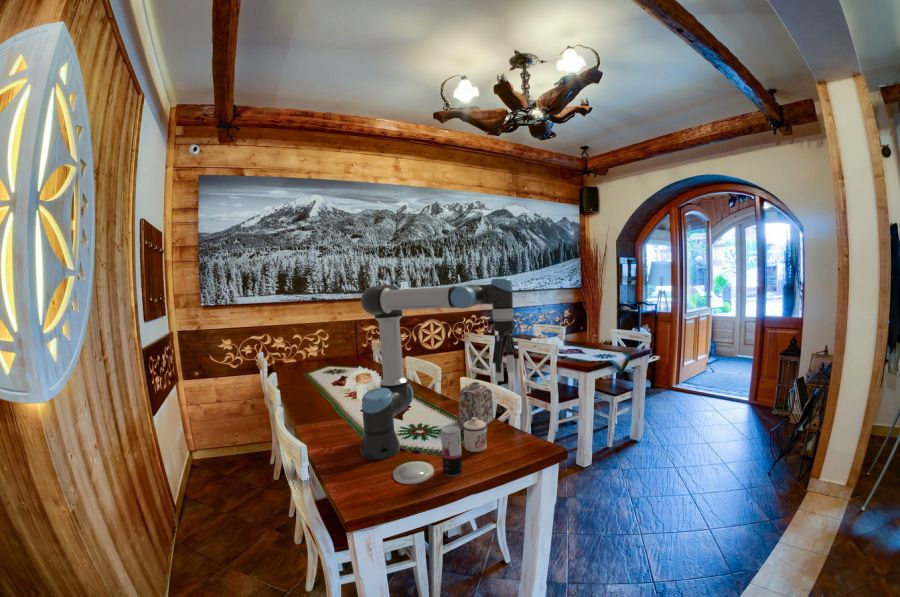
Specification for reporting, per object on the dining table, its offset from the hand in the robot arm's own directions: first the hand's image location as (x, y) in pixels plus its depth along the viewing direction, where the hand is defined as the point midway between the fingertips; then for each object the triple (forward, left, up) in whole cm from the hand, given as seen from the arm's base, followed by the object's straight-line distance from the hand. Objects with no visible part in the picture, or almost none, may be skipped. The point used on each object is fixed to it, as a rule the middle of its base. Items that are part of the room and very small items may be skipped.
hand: (505, 376), depth 140 cm
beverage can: (-15, -21, -29) cm, 38 cm away
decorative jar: (-19, +23, -29) cm, 42 cm away
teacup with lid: (-12, 0, -29) cm, 31 cm away
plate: (-28, -25, -28) cm, 47 cm away
